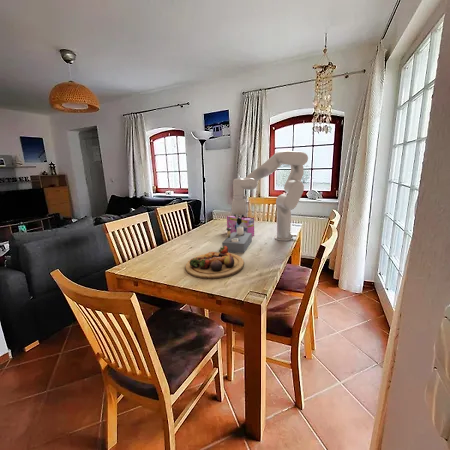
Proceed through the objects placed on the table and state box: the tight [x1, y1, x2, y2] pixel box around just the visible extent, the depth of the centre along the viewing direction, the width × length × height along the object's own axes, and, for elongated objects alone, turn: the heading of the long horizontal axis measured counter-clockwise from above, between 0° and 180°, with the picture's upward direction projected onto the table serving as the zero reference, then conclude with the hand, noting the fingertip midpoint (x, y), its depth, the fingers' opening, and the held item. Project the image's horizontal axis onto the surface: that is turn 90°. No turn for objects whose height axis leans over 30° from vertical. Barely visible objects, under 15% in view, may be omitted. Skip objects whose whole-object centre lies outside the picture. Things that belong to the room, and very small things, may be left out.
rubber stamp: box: [226, 227, 231, 238], centre depth 165 cm, size 3×3×6 cm
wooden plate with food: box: [184, 246, 245, 280], centre depth 134 cm, size 32×32×8 cm
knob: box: [237, 227, 244, 236], centre depth 170 cm, size 4×4×7 cm
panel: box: [221, 232, 253, 254], centre depth 164 cm, size 14×24×6 cm, turn 163°
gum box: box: [226, 215, 255, 237], centre depth 192 cm, size 24×8×14 cm, turn 43°
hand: (239, 224), depth 168 cm, fingers closed
